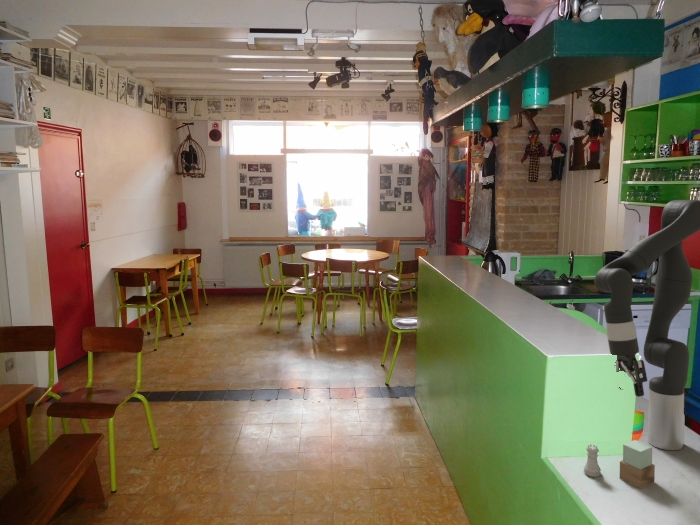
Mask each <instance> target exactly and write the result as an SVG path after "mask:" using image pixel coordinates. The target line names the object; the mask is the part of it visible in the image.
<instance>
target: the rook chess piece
mask: <svg viewBox="0 0 700 525" xmlns="http://www.w3.org/2000/svg"><path fill="white" fill-rule="evenodd" d="M585 450H586V451H587V453H586V456H587V460H586V462H585V464H584V466H583V472H584V474H585V475H586V476H588V477H591V478H597V477H600V476H601V475H602V472H601V471H602V470H601V467H600V465H599V462H598V456H599V455H598V452H600V450H599V449H598V446H597V445H595V444H593V445H592V444H587V447H586V449H585Z"/></svg>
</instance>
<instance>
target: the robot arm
mask: <svg viewBox="0 0 700 525" xmlns="http://www.w3.org/2000/svg"><path fill="white" fill-rule="evenodd" d="M661 213H662V214H661V218H660V230H659V231H656V232H654V233H653V234H650V235H649V236H646V237H644V238H643V239H641V240H639V241H638V242H636V243H635V244H634V245H633V246H631V247H630V248H629V249H628V250H626V251H625V252H624V253H623V254H622V255H621V256H619V257H618V258H616V259H614V260H612V261H611V262H609V263H608V264H606V265H604V266H603V267H602V268H600V270H598V271H597V273H596V274H595V276H594V280H593V282H594V286H595V288H596V289H597V290H598V291H600V292H602V293H607V294H608V293H609V294H610V301H606V303H604V305H603V312H604V318H605V323H606V326H605V328H606V337H607V341H608V349H609V354H612V355H617V360H616V362H615V363H616V365H614V367H615V366H616V372H619V371H624V372H625V374H627V377H628V378H629V377H630V379H631V381H632V382H633V384H632V385H633V391H634V395H635V397H644V395H645V391H644V386H643V383H646V382H648V383H649V384H648V418H647V419H648V424H647V425H648V428H647V429H648V430H647V441H648V443H649V444H650V446H652V447H655V448H658V449H661V450H665V451H666V450H667V451H677V450H678V451H679V450H681V449H682V448H684V447H683V445H684V444H685V416H686V415H685V414H684V411H685V409H684V408H685V387H686V385H687V383H688V376H689V375H688V374H689V366H690V351H689V348H688V345H686V344H685V342H681V341H679V340H676V339H672V338H668V336H669V332H670V326H671V325H672V322H673V320H674V318H676V316H677V315H678V313H679V312H680V311H681V310H682V309H683V307H685V305H686V304H687V303H688V301H689V300H690V296H691V292H692V285H693V273H692V269H691V266H690V263H689V261H688V259H687V257H686V255H685V252H684V248H683V241H684V240H686V239H687V238H689V237H691V236H692V235H694V234H695V233H697V232H699V231H700V200H699V199H675V200H670V201H669V202H667V203H666V204H665V206H664V207H663V210H662V212H661ZM657 259H658V267H657V274H656V279H655V285H654V287H655V288H654V297H653V305H652V309H651V314H650V315H651V316H650V320H649V325H648V328H647V333H646V335H645V340H644V345H643V357H644V360H645V361H646V362H647V363H648V364H649V365H652V366H654V367H657V368H660V369H663V371H662V376H654V377H652V378H650V379H649V381H648V377H647V371H646V366H645V361H644V360H643V359H640V360H637V358H636V355H637V354H638V353H639V352H640V349H639V348H640V347H639V341H638V336H637V329H636V325H635V323H634V322H635V321H634V317H633V310H632V301H633V294H634V293H633V292H634V281H633V277H632V276H636V275H640V274H641V273H643V272H644V271H645V270H646V269H647V268H649V267H650V266H651V265H652V264H653V263H654V262H655V261H656V260H657ZM619 368H620V370H619ZM619 388H620V387H619ZM619 388H618V389H619ZM619 390H623V389H621V388H620V389H619Z"/></svg>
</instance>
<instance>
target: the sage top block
mask: <svg viewBox="0 0 700 525" xmlns="http://www.w3.org/2000/svg"><path fill="white" fill-rule="evenodd" d="M622 448H623V449H622V460H623V462H625V463H627V464H629V465H631V466H633V467H636V468H638V469H640V470H641V469H643V468H645V467H648V466H650V465H652V464H653V446H652V445H649V444H646V443H643V442H641V441H638V440H636V439H634V440H631V441H628V442H626V443H624V444H623V445H622Z"/></svg>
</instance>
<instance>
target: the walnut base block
mask: <svg viewBox="0 0 700 525" xmlns="http://www.w3.org/2000/svg"><path fill="white" fill-rule="evenodd" d="M655 469H656V465H655V464H654V463H652V465H650V466H648V467H645V468H643V469H641V470H640V469H638V468H636V467H633V466H631V465H629V464H627V463H625V462H623V459H622V460H620V461H619V479H620V480H622V481H624V482H626V483H628V482H629V484H630V485H632V484H633V485H632V486H634V485H635V486H634V487H636V486H637V487H636V488H638V487H639V488H638V489H642V488H644V487H646V486H649V485H651V484H654V483H655V472H656V471H655Z"/></svg>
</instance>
